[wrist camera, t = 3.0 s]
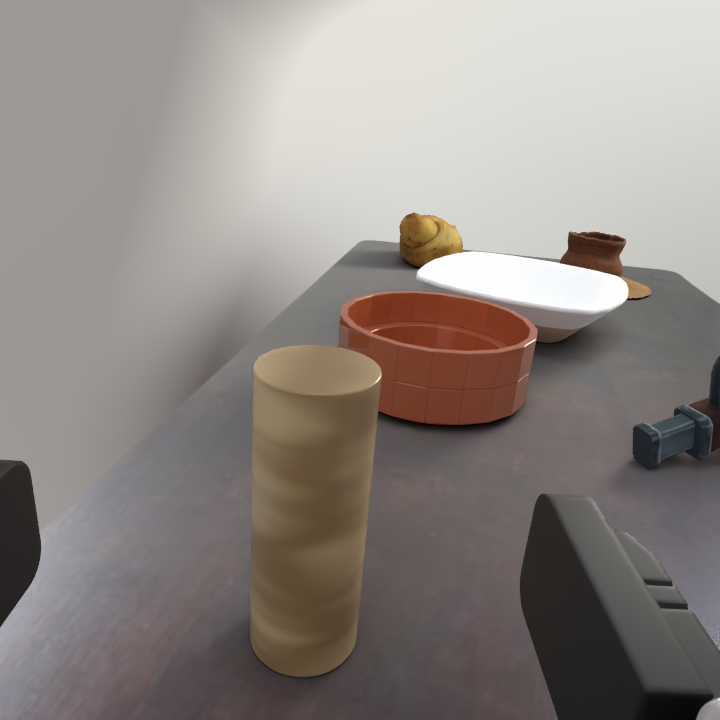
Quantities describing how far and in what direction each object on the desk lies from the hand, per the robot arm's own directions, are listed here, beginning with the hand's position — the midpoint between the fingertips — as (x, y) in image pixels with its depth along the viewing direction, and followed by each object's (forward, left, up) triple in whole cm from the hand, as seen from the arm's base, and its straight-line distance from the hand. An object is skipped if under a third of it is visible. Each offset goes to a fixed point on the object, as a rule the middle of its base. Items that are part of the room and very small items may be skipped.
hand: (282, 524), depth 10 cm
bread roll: (+13, +85, -14) cm, 87 cm away
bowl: (+20, +57, -14) cm, 62 cm away
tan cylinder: (0, +11, -14) cm, 18 cm away
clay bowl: (+8, +37, -14) cm, 40 cm away
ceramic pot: (+36, +79, -14) cm, 88 cm away
